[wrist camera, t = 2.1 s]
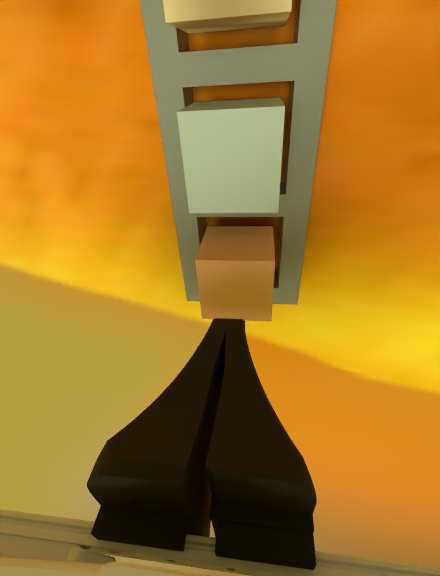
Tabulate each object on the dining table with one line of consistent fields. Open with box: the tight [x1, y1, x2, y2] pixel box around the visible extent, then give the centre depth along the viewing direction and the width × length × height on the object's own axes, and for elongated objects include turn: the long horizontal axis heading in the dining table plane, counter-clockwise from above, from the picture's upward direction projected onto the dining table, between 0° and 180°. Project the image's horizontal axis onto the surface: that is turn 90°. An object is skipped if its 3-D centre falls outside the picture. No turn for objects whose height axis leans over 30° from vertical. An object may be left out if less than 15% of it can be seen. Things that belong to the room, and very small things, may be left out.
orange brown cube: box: [195, 226, 275, 321], centre depth 17 cm, size 4×4×4 cm
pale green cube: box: [177, 97, 285, 213], centre depth 14 cm, size 4×4×4 cm
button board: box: [140, 0, 337, 304], centre depth 16 cm, size 8×21×2 cm, turn 3°
